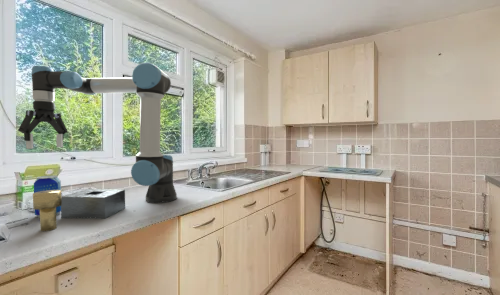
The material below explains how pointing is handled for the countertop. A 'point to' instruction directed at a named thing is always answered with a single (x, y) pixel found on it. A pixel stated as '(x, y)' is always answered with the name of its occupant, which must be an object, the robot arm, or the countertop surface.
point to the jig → (93, 203)
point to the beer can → (47, 188)
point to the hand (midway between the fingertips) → (45, 148)
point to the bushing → (47, 207)
